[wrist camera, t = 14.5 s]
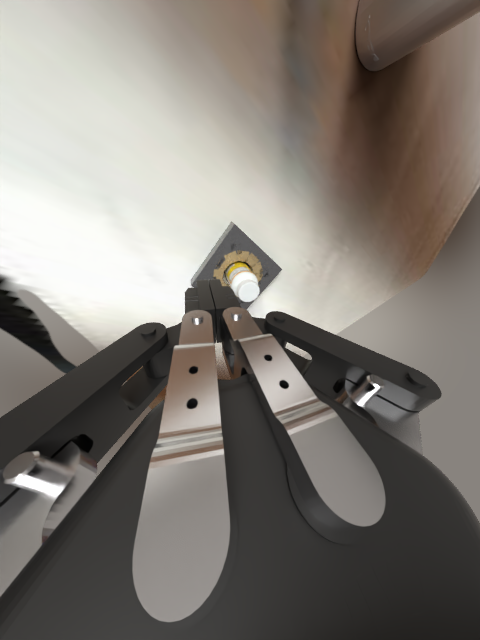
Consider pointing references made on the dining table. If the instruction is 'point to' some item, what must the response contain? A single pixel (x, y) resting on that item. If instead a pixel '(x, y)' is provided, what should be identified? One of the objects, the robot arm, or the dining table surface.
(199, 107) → the dining table surface
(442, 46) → the dining table surface
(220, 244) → the mount plate
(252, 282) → the supplement bottle
